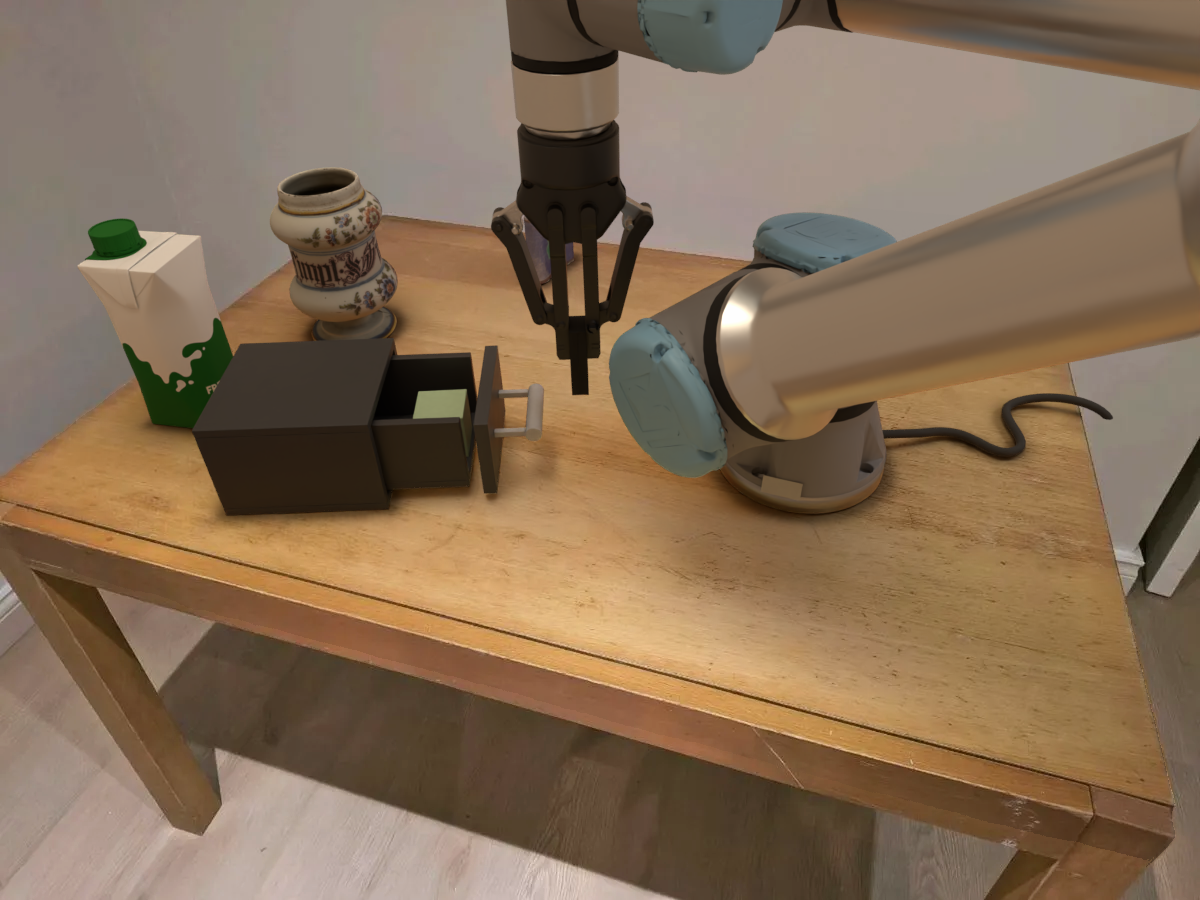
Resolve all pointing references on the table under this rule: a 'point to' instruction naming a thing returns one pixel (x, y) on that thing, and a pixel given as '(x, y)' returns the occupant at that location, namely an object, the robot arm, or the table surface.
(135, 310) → the milk carton
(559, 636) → the table surface
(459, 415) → the block
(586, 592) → the table surface
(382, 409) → the drawer
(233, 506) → the cabinet
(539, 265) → the flask
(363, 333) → the apothecary jar
